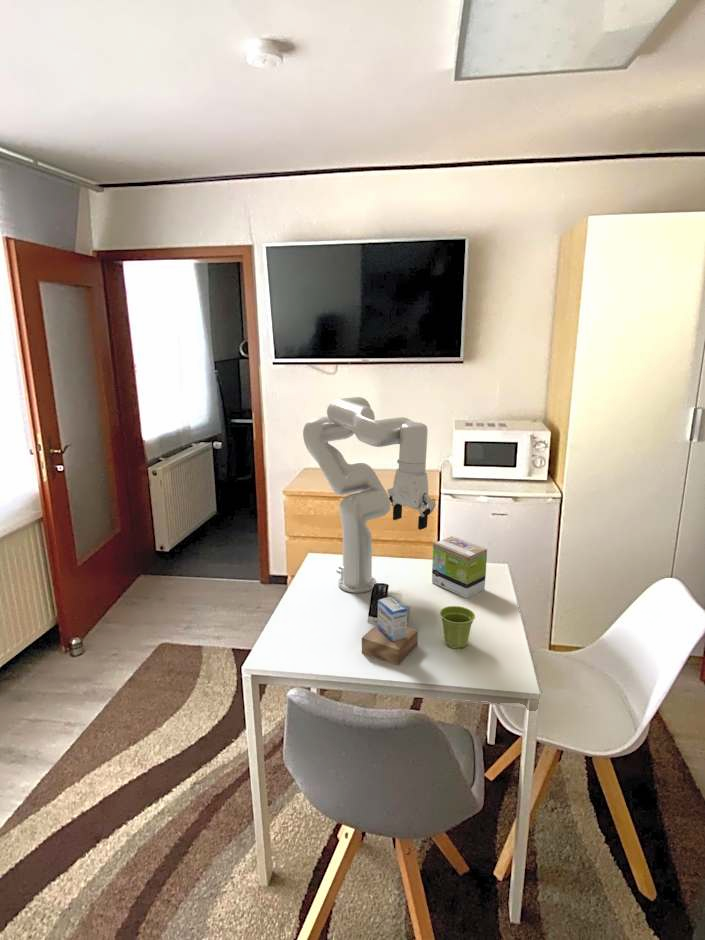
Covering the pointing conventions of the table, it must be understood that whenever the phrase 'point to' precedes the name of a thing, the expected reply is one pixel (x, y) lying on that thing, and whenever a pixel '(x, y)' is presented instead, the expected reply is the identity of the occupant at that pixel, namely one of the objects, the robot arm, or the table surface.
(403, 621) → the medicine box
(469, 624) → the plant pot
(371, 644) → the walnut block
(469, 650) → the table surface
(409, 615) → the grey cube
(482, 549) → the tea box
